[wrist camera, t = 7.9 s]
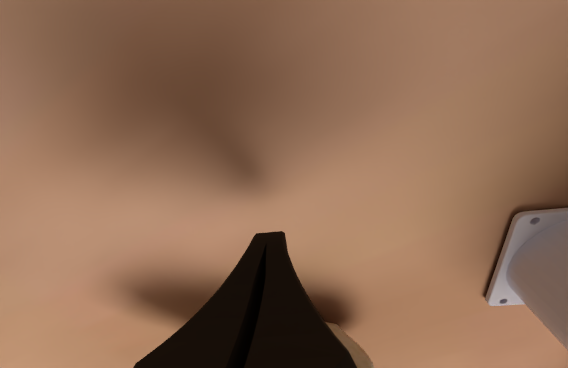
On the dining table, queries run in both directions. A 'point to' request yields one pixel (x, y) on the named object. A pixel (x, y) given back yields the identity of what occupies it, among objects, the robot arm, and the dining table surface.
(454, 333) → the dining table surface
